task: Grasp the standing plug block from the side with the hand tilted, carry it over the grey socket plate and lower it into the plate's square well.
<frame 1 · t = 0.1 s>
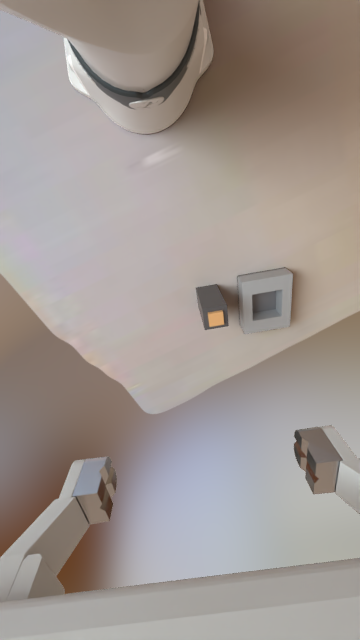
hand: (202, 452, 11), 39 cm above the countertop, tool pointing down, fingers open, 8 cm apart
socket plate: (261, 297, 51), on the countertop
plug: (207, 295, 50), on the countertop
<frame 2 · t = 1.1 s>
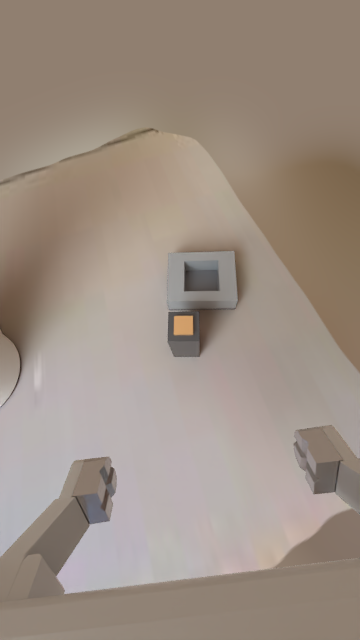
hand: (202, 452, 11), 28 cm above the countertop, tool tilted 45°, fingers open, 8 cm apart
socket plate: (201, 285, 45), on the countertop
plug: (186, 344, 42), on the countertop
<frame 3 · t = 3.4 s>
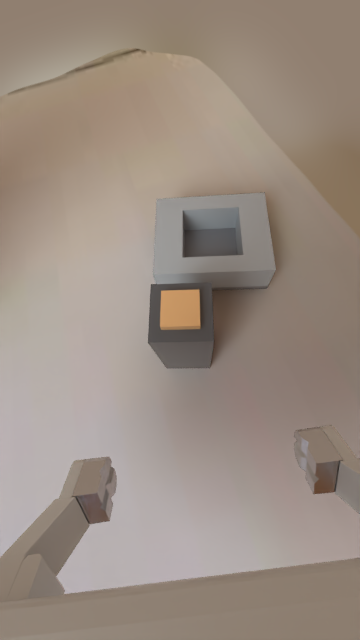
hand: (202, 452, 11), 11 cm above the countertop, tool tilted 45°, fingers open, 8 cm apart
socket plate: (210, 253, 28), on the countertop
plug: (188, 347, 25), on the countertop
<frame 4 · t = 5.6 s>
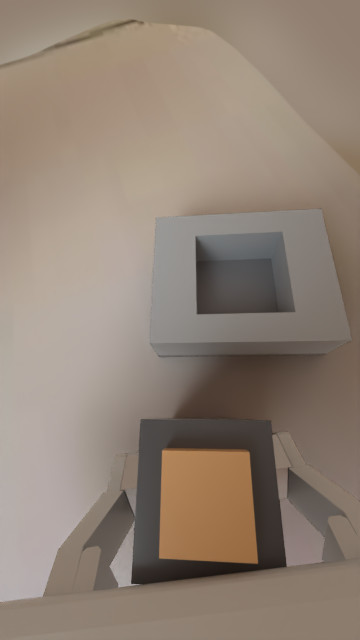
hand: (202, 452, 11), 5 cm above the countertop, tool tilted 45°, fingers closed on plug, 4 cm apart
socket plate: (235, 296, 19), on the countertop
plug: (204, 453, 16), on the countertop, touching gripper
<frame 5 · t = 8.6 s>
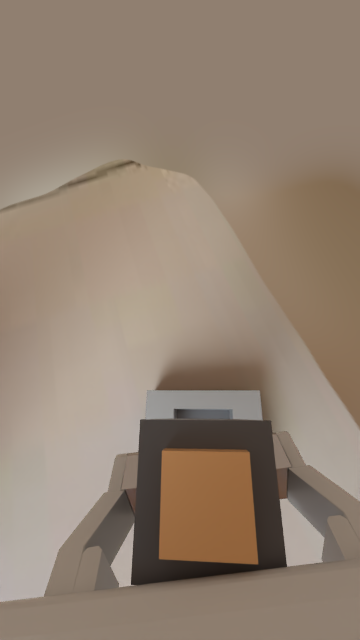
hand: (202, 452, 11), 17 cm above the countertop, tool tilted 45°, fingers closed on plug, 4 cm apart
socket plate: (203, 438, 27), on the countertop
plug: (204, 454, 16), point 12 cm above the countertop, touching gripper
when the fingers open (7 cm above the countertop, at t = 11.1 s): plug drops 2 cm, resting on socket plate.
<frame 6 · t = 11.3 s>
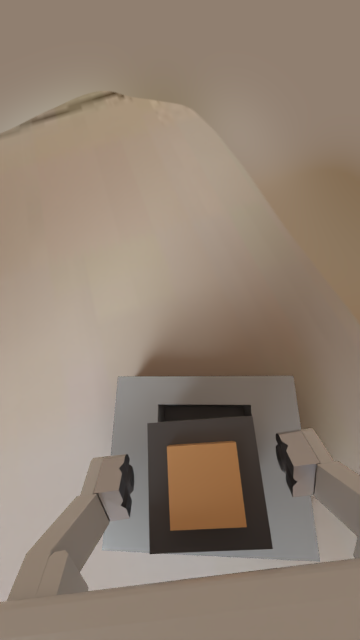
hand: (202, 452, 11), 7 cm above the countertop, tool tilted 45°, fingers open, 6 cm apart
socket plate: (204, 449, 18), on the countertop
plug: (203, 450, 17), resting on socket plate
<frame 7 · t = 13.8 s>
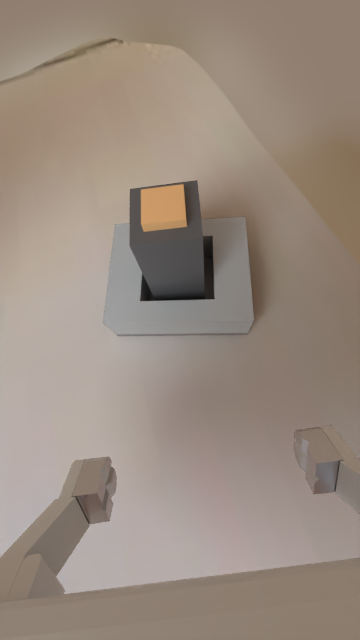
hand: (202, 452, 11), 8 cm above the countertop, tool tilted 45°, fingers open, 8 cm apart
socket plate: (181, 287, 23), on the countertop
plug: (180, 285, 23), resting on socket plate
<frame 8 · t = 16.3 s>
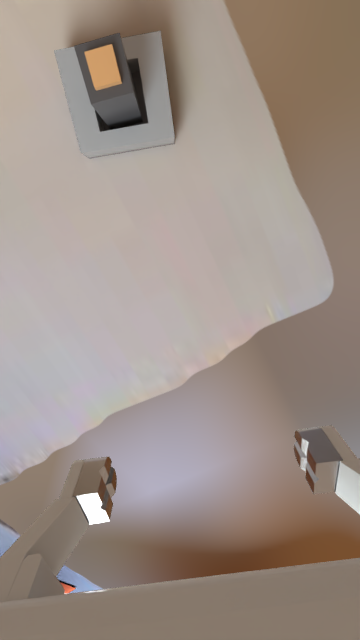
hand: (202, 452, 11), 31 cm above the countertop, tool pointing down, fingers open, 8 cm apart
socket plate: (123, 107, 31), on the countertop
plug: (122, 106, 31), resting on socket plate
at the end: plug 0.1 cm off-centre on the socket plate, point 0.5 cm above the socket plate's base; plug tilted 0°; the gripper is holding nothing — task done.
